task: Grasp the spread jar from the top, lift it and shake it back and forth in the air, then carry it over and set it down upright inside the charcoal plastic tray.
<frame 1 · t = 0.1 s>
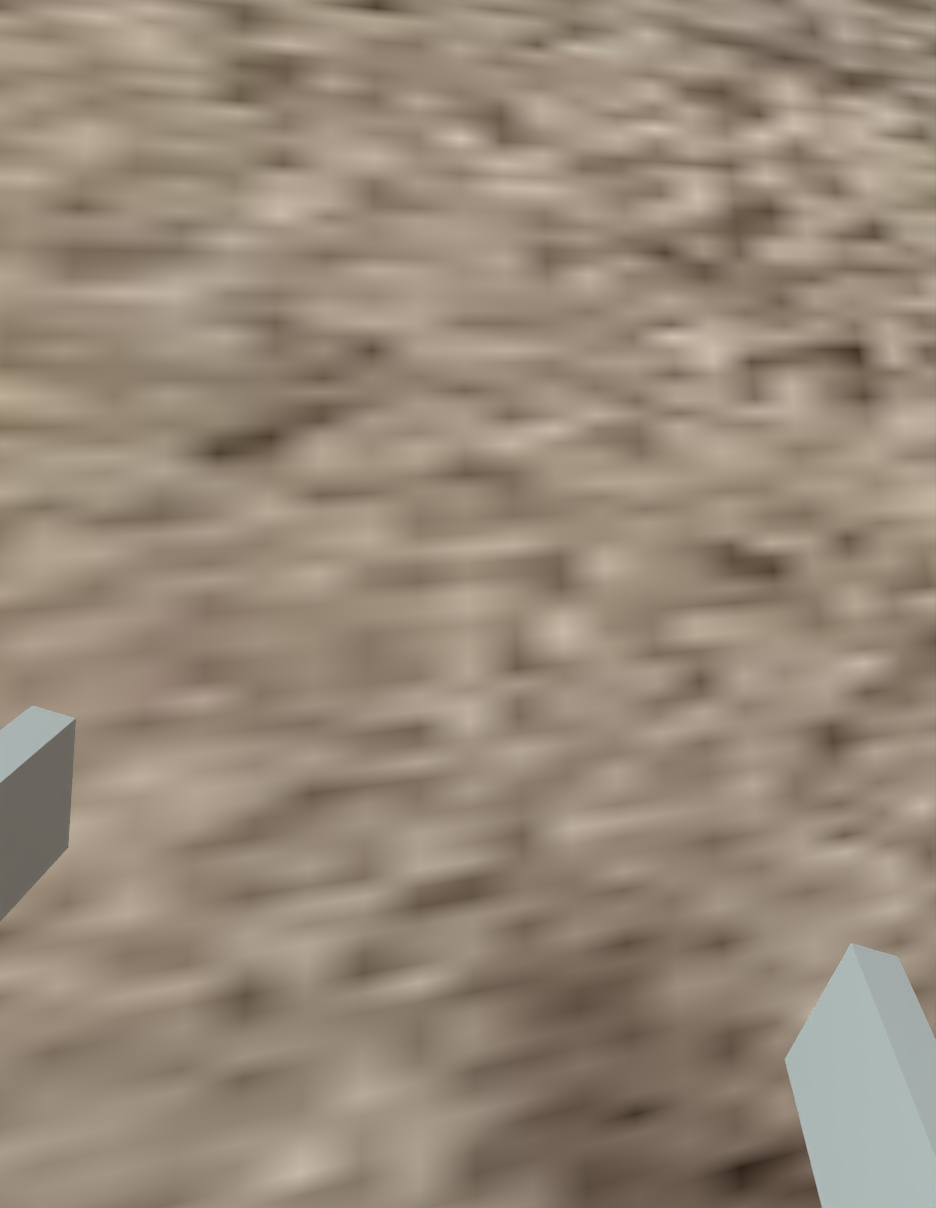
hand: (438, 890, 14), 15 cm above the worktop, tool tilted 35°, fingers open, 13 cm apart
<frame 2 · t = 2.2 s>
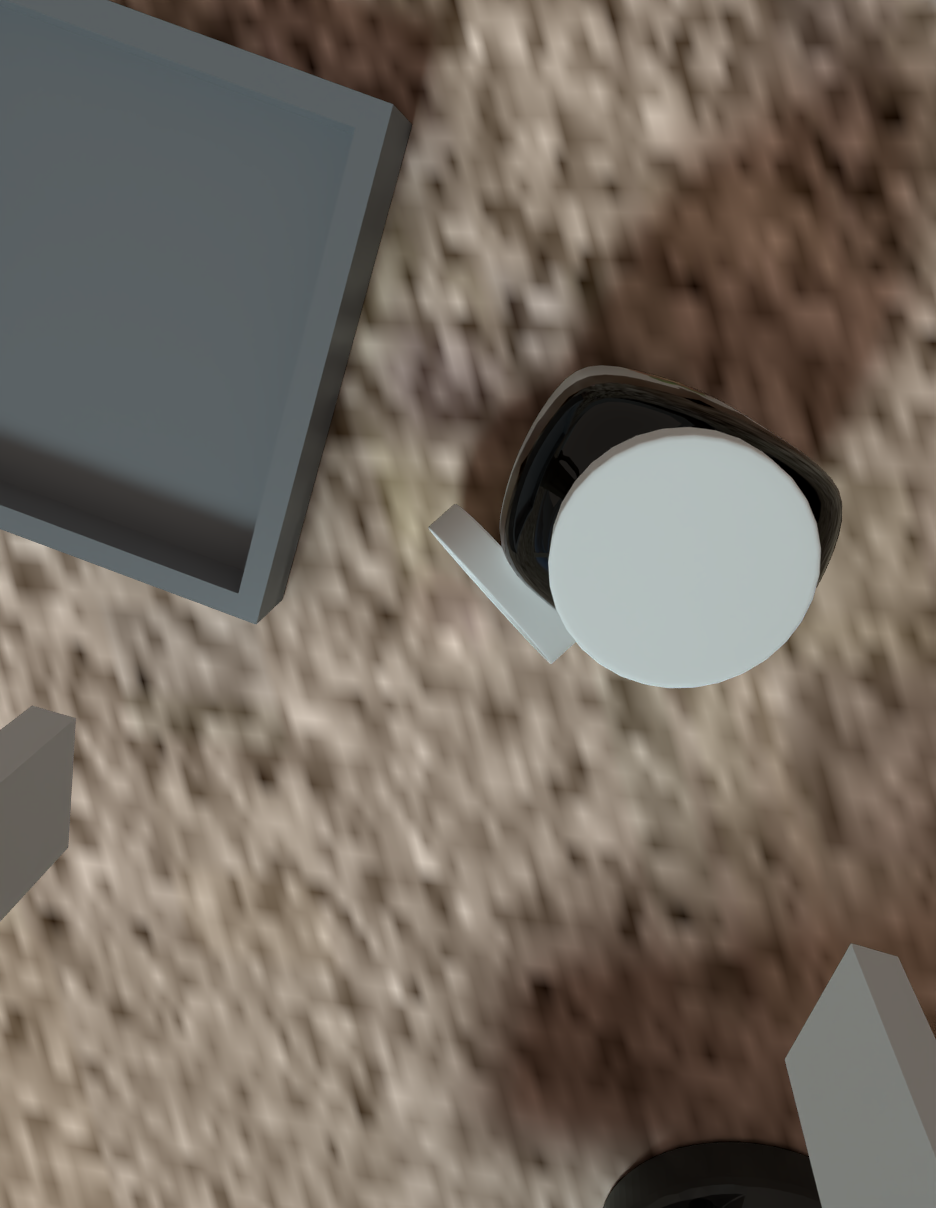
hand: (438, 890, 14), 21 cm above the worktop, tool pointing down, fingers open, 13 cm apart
tray: (114, 304, 32), on the worktop
spread jar: (605, 510, 33), on the worktop
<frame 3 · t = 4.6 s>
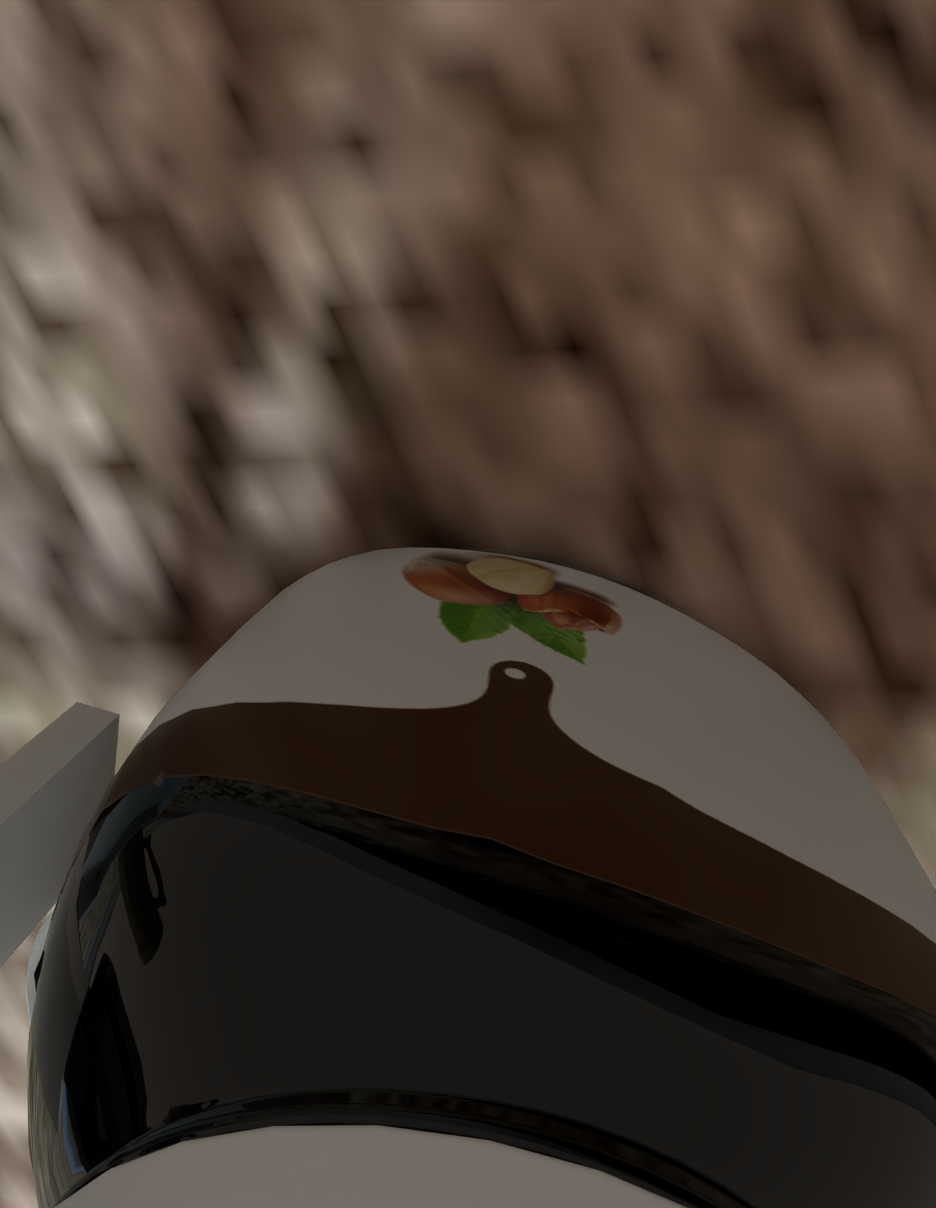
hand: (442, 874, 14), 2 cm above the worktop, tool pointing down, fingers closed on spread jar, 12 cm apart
spread jar: (454, 787, 16), on the worktop, touching gripper
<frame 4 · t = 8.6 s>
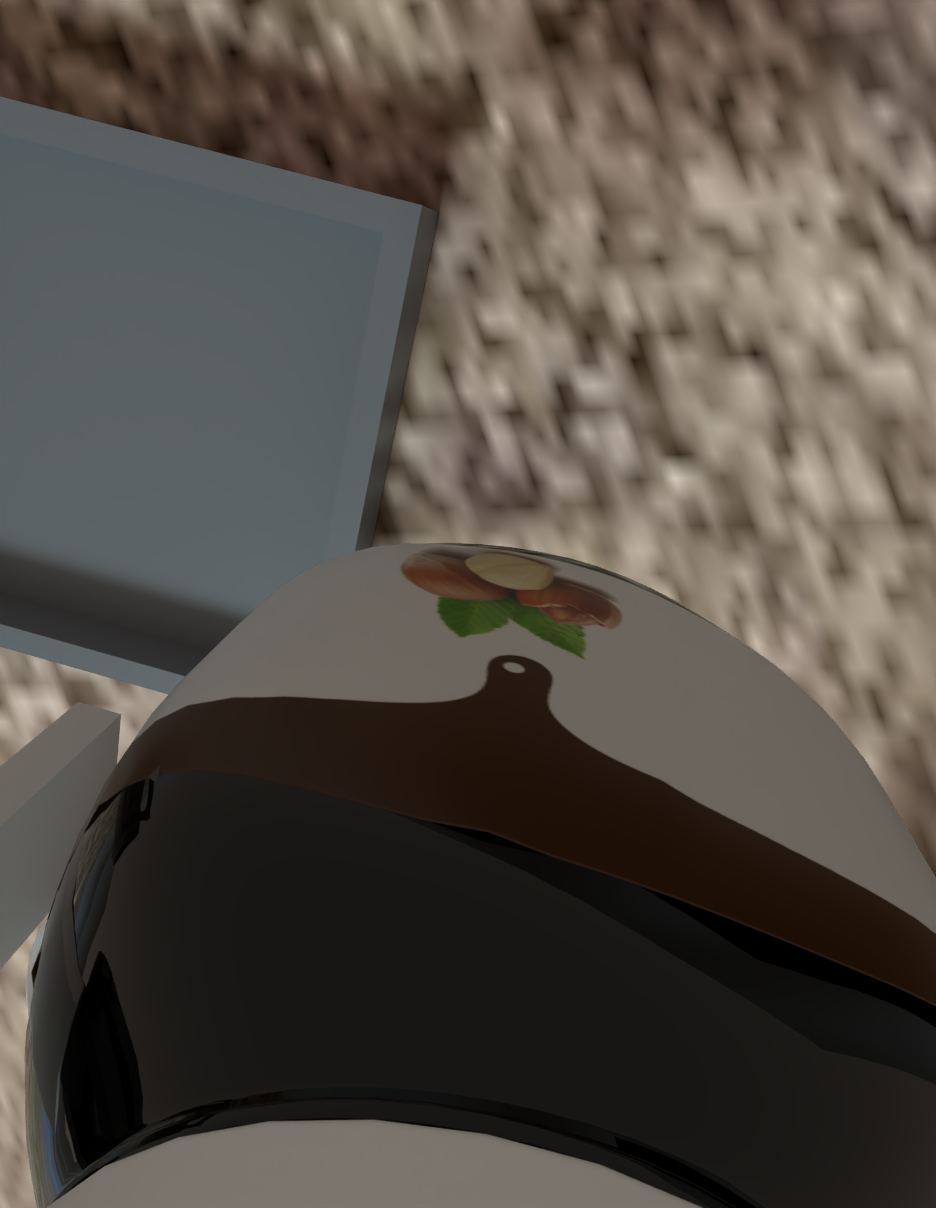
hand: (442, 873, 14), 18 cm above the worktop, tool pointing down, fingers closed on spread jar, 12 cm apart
tray: (143, 420, 31), on the worktop
spread jar: (455, 785, 16), point 16 cm above the worktop, touching gripper
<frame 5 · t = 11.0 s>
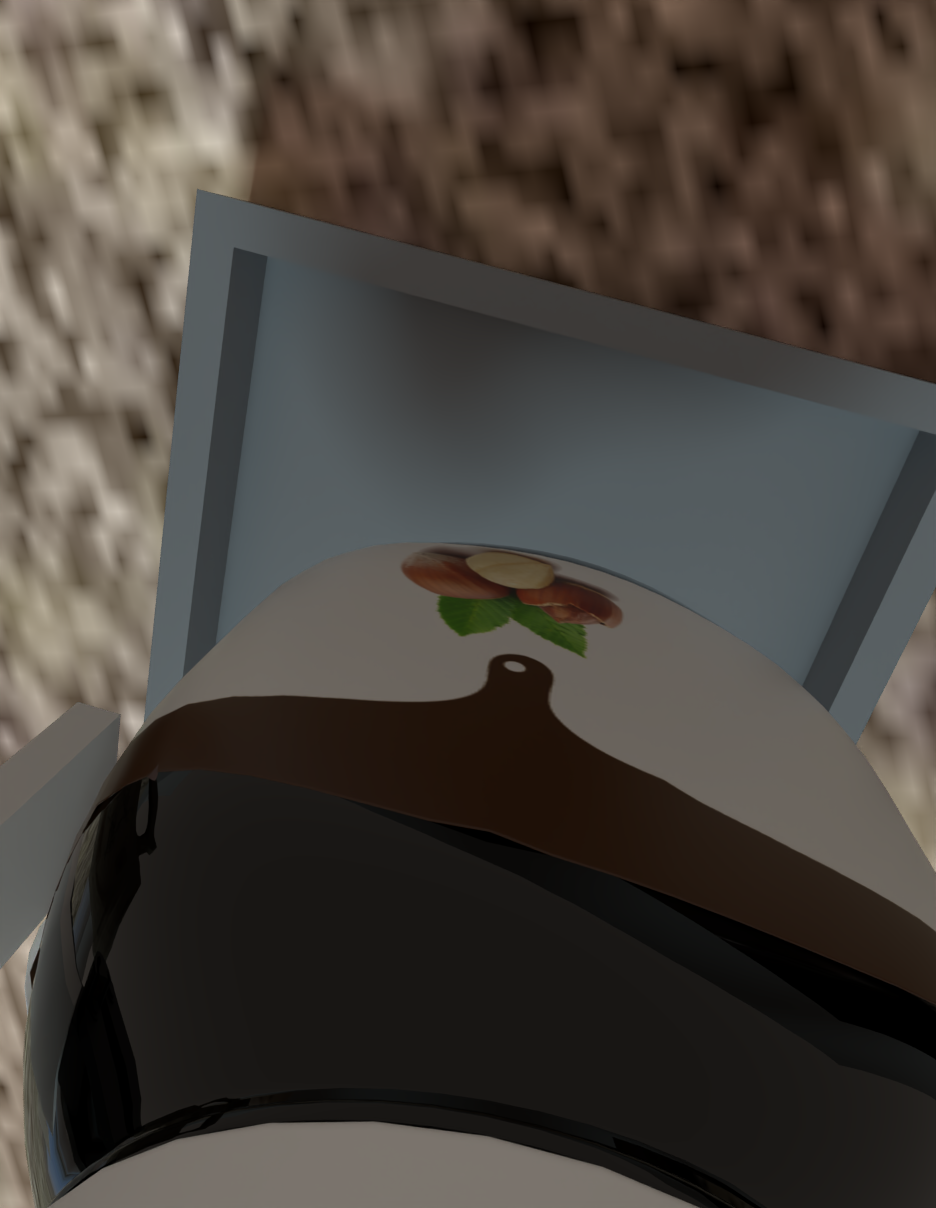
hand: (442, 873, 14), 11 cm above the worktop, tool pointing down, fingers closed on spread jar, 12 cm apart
tray: (507, 622, 25), on the worktop
spread jar: (455, 785, 16), point 9 cm above the worktop, touching gripper
when the fingers open (5 cm above the worktop, at t = 12.9 s): spread jar drops 2 cm, resting on tray.
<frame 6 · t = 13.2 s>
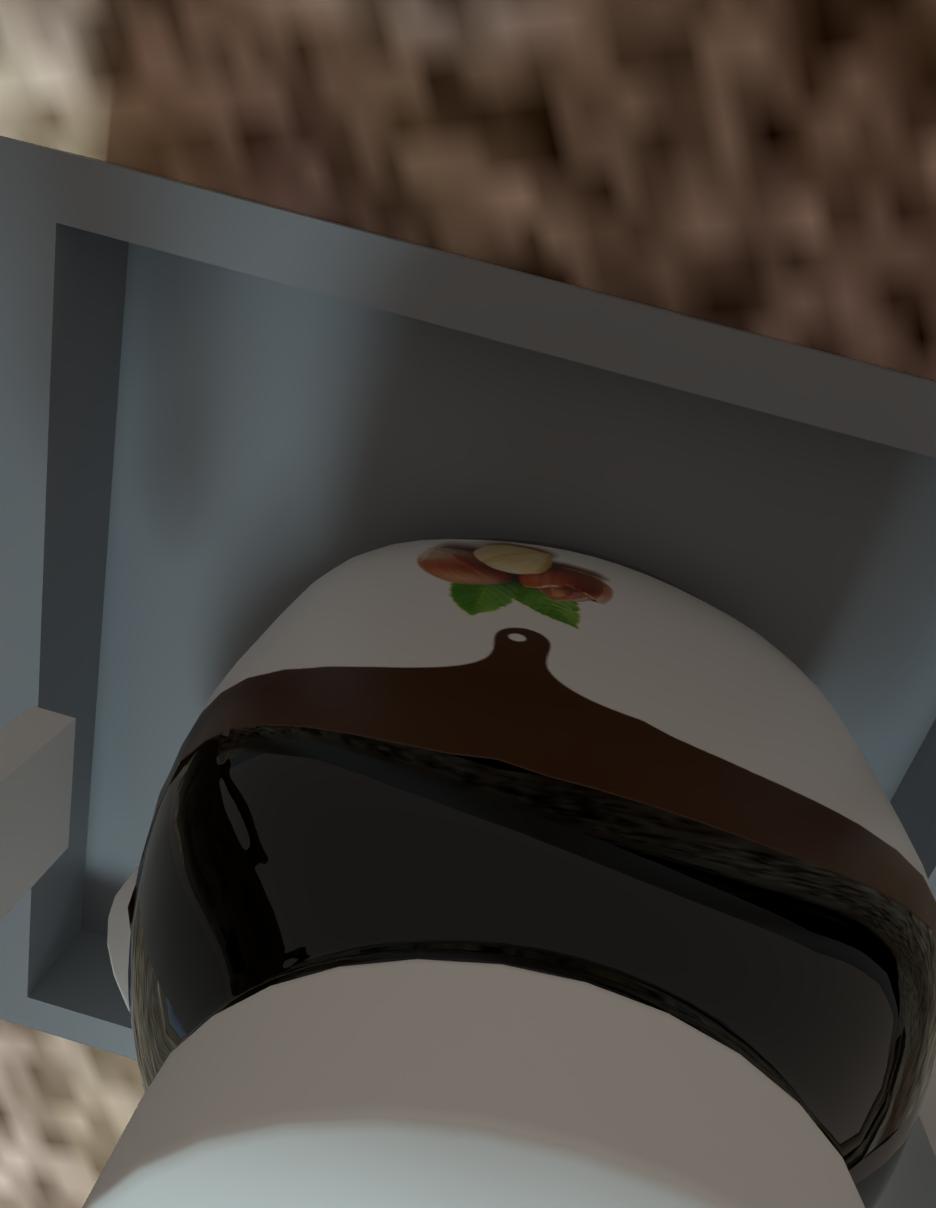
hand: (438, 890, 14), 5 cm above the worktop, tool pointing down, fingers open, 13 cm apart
tray: (477, 731, 18), on the worktop
spread jar: (476, 760, 18), point 1 cm above the worktop, touching tray
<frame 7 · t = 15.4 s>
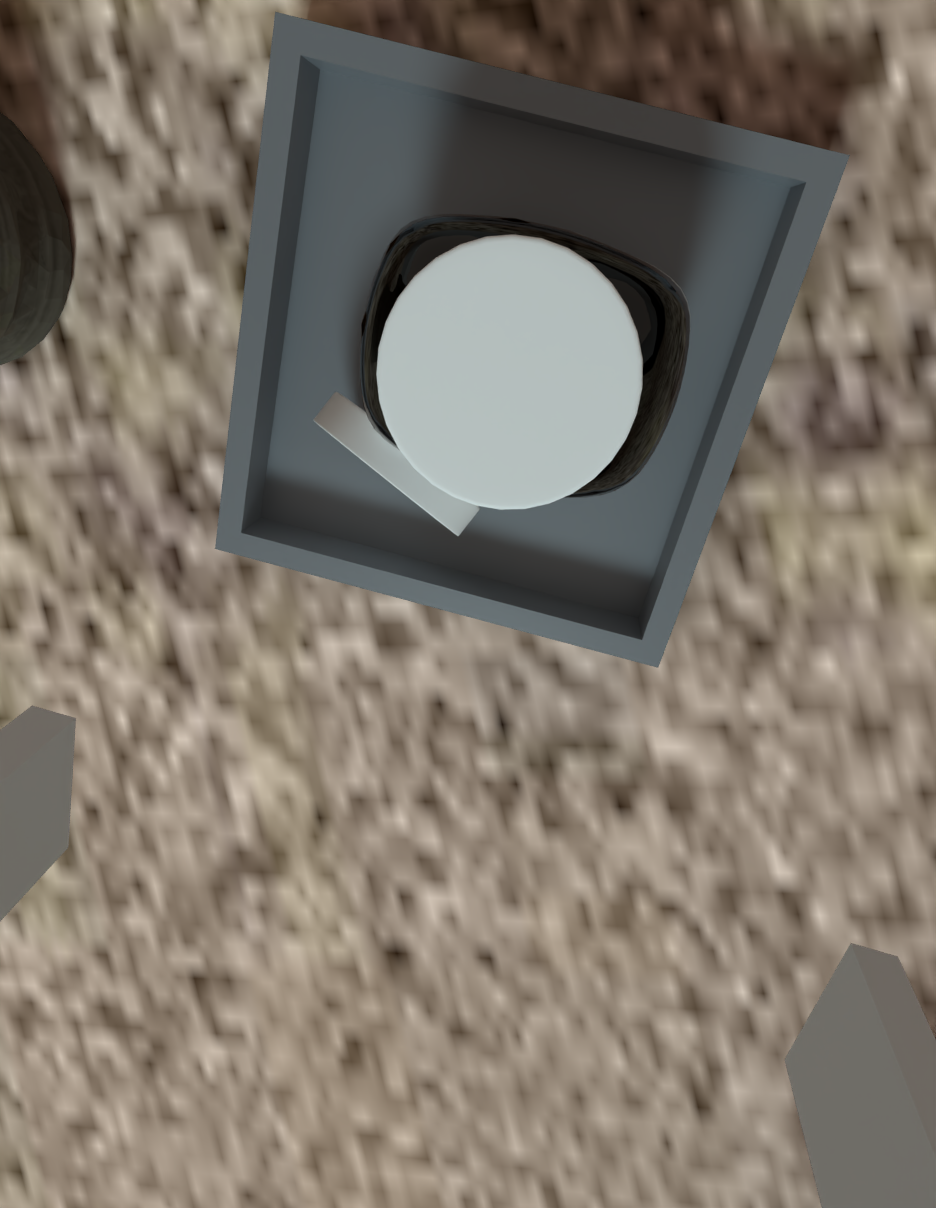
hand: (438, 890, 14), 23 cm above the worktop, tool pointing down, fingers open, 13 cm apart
tray: (497, 368, 33), on the worktop
spread jar: (497, 380, 32), point 1 cm above the worktop, touching tray
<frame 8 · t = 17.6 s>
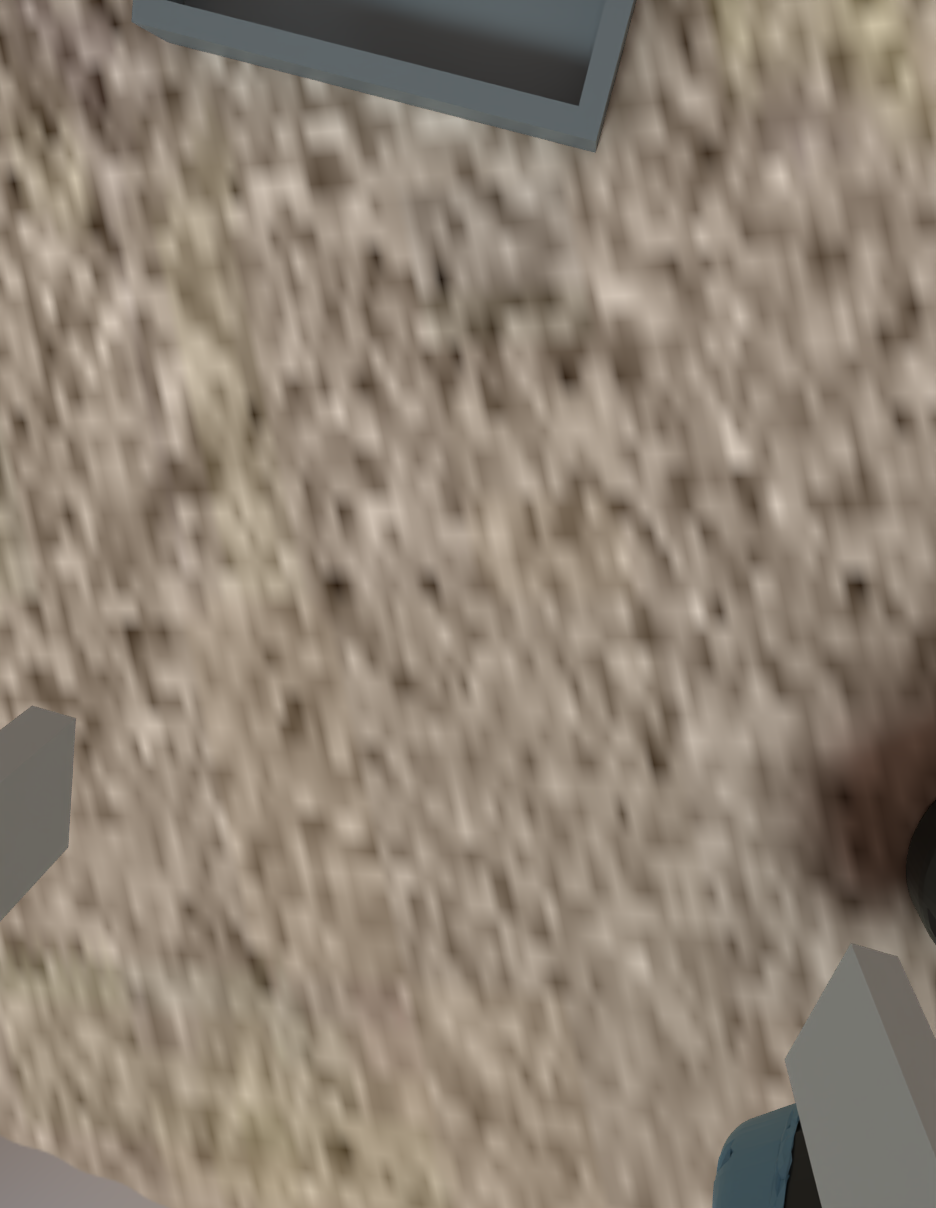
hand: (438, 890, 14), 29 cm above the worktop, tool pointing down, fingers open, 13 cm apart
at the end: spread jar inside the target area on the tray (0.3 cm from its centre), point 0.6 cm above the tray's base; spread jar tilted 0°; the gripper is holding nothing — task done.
